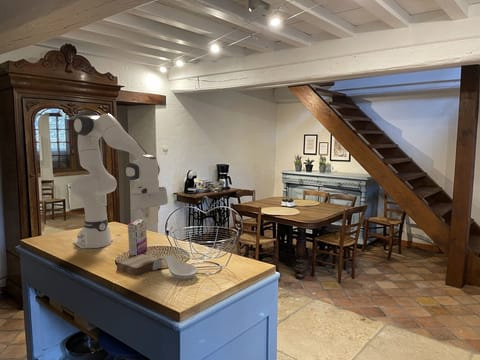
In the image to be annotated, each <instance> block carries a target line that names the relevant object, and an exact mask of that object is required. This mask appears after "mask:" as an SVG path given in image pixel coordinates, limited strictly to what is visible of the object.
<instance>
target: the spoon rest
mask: <svg viewBox="0 0 480 360" xmlns="http://www.w3.org/2000/svg"><path fill="white" fill-rule="evenodd" d="M157 258H158V259H156V260H155V262H154V264H153V270H152V271H157V270H159V269H161V268H162V261H165V263H166V265H167V269H168V271H169V273H170V274H171V276H172V277H173V278H174V279H176V280H178V281H179V280H180V281H186V280H190V279H192V278H194V277H196V275H197V274H198V272H199V269H198V267H196V266H195V265H193V264H190V263H187V262H185V261H182V260H180V259H178V258H175V257H173V256H169V255H163V256H161V257H157ZM160 267H161V268H160ZM158 268H159V269H158Z"/></svg>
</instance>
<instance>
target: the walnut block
mask: <svg viewBox="0 0 480 360" xmlns="http://www.w3.org/2000/svg"><path fill="white" fill-rule="evenodd" d="M158 258H159V257H154V256H151V255H146V254H143V253H141V254H139V255H137V256H133V255H132V256H130V257H127V258H125V259H122V260H118V261H116V270H118V271H121V272H123V273H126V274H129V275H133V276H135V277H138V276H141V275H143V274H144V275H145V274H146V273H149V272H151V271H154V270H153V264H154V262H155V260H156V259H158Z"/></svg>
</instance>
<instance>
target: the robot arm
mask: <svg viewBox="0 0 480 360" xmlns="http://www.w3.org/2000/svg"><path fill="white" fill-rule="evenodd" d="M72 125H73V129H74V131H75V133H76V134H77V152H78V158H79V165H80V166H81V167H82V169H84V170H87V171H88V173H89V174H90V175H88V176H80V177H78V178H74V179H72V181H71V183H70V191H71V193H72V194H73V195H74V196H75V197H76V198H77V199H79V201H80V202H81V203H82V205H83V207H84V215H85V217H84V218H85V219H84V221H83V227H82V228H81V229H80V231H78V233H77V235H76V237H77V238H76V240H73V244H74V245H75V246H77V247H79V248H80V249H97V248H103V247H107V246H110V245H111V244H112V242H113V241H114V240H113V238H112V237H111V230H110V227H109V224H108V223H109V221H108V220H109V219H108V217H107V216H108V215H107V205H106V204H105V203H103V202H101V201H99V199H98V197H97V196H102V195H107V194H110V193H112V192H115V190H116V189H117V186H118V183H117V179H116V178H115V177H114V176H113V175H112V174H110V173H109V171H108V170H107V168H105V166H104V163H103V160H102V154H101V149H100V144H99V141H100V139H103V140H104V142H105V143H106V144H107V145H108V146H109V147H110V148H112V149H116V150H120V151H124V152H128V153H130V154H132V155H133V157H135V160H134V161H131V162H128V163H126V165H125V168H124V174H125V177H126V178H127V179H128V181H132V182H133V181H134V182H136V181H137V182H139V185H137V186H135V187H133V188H132V189H131V193H132V195H131V196H130V208H131V209H132V210H134V211H139V210H140V212H141V213H142V216H143V219H144V218H146V217H148V214H147V213H146V212H145V211H146V208H149V207H154V206H158V212H159V211H160V208H161V206H165V205H168V203H169V199H168V193H167V188H166V187H165V186H164V185H163V186H160V180H159V175H160V171H161V168H160V165H159V162H158V158H157V157H156V156H155V155H151V154H148V153H147V151H146V150H145V149H144V147H142V146H141V144H140V143H139V142H138V141H137V140H136V139H134V138H133V137H132V136H131V135H130V134H128V133H127V131H125V129H124V127H123V126H122V124H121V123H120V122H119V121H118V120H117V119H116V118H115V116H113V115H112V114H110V113H102V114H101V115H95V114H94V115H84V114H83V115H78V116H76V117H75V119H74V120H73V124H72Z"/></svg>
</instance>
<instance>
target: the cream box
mask: <svg viewBox="0 0 480 360" xmlns="http://www.w3.org/2000/svg"><path fill="white" fill-rule="evenodd" d="M145 212H146V213H147V214H148V217H146V218H144V217H143V220H144V223H146V224H149V225H151V224H156V223H159V211H158V206H154V207H149V208H146V211H145Z"/></svg>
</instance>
